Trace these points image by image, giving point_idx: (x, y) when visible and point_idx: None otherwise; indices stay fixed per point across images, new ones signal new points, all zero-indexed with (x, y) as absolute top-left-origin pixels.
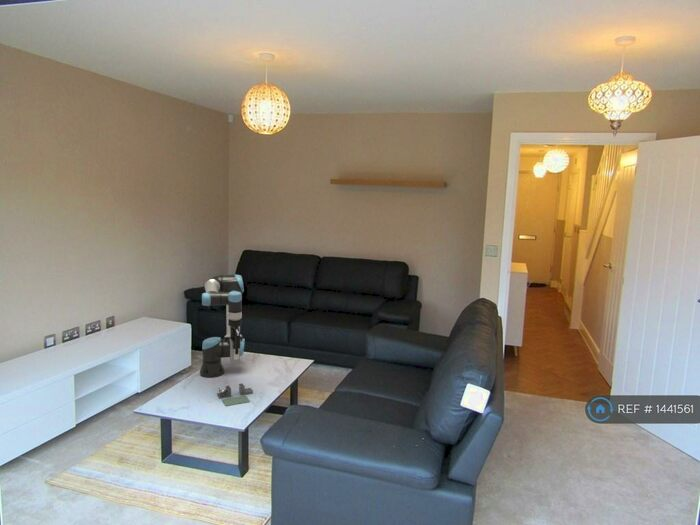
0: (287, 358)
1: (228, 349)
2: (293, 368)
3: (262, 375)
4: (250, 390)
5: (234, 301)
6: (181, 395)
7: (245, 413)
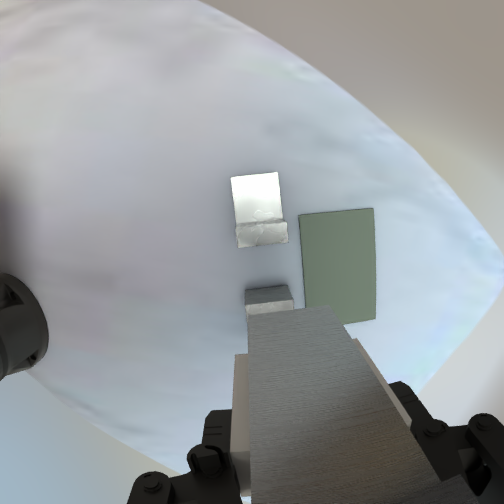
0: None
1: None
2: None
3: (64, 99)
4: (268, 184)
5: None
6: None
7: (453, 248)
